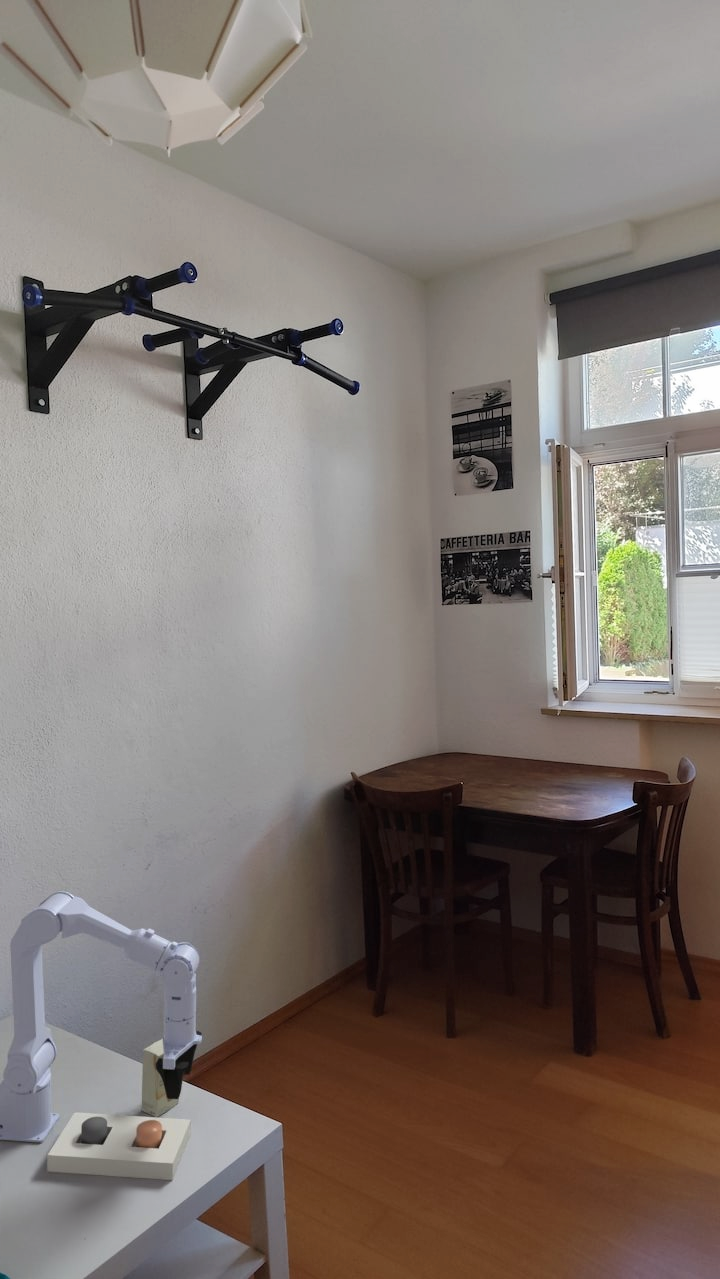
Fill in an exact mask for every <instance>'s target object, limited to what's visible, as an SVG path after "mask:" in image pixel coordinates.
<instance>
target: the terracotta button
mask: <svg viewBox="0 0 720 1279" xmlns="http://www.w3.org/2000/svg"><path fill="white" fill-rule="evenodd" d="M161 1142H162V1125H161V1123H160V1122H158V1121H156V1120H147V1121H144V1122H142V1123H140V1124H139V1125H138V1126H137V1129H136V1147H142V1148H157V1149H159V1147H160V1145H161Z"/></svg>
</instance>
